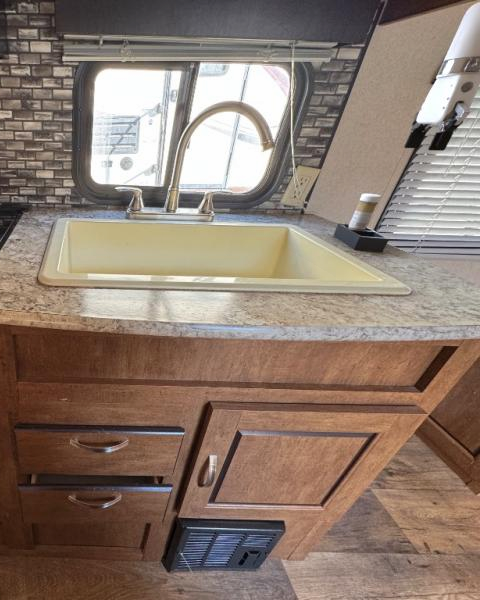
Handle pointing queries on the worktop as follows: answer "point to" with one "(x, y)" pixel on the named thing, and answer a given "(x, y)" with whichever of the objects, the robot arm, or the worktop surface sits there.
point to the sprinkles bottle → (364, 211)
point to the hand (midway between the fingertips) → (422, 149)
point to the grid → (361, 238)
